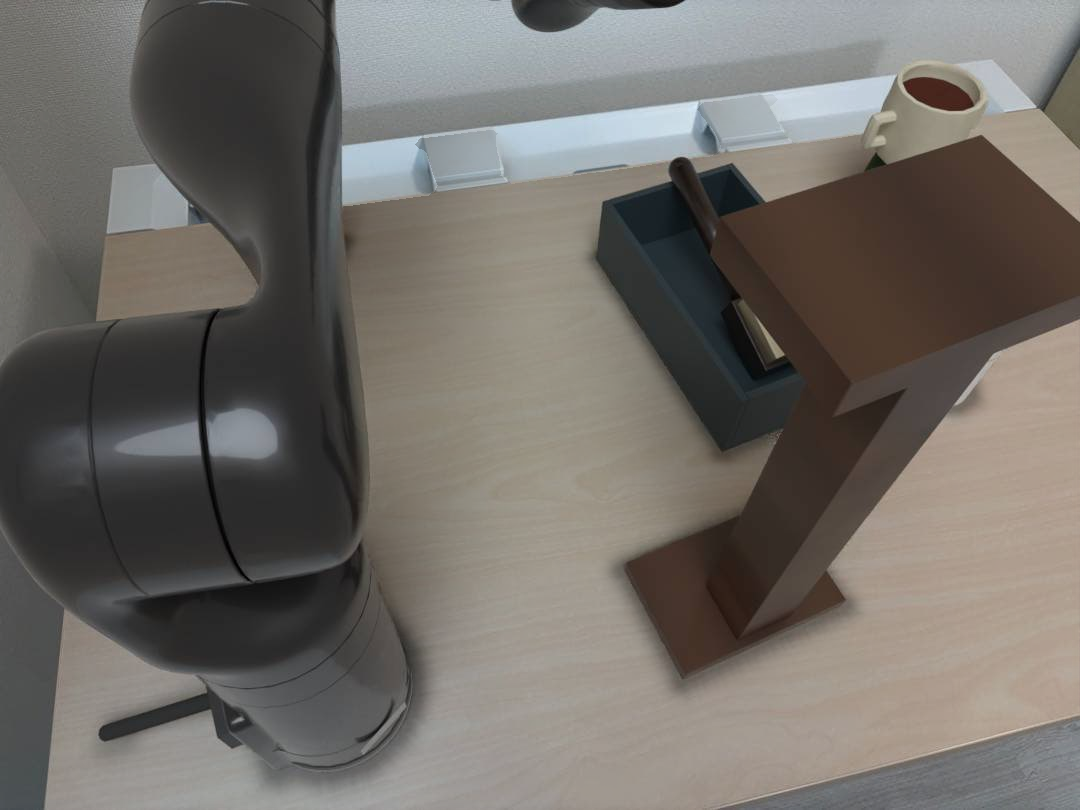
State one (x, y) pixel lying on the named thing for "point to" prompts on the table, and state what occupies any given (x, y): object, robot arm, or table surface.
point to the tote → (691, 305)
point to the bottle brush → (738, 317)
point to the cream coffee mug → (924, 111)
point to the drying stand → (859, 369)
